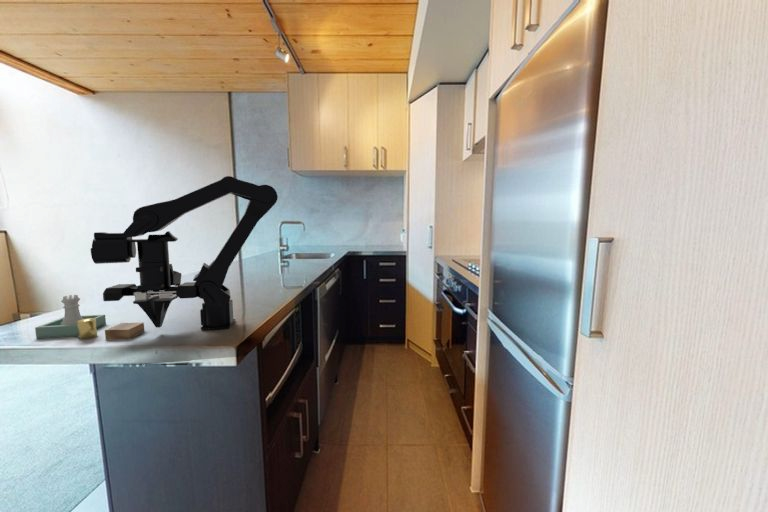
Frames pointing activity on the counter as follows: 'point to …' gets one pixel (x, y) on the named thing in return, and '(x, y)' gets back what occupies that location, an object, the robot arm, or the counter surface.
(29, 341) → the counter surface
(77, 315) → the rook chess piece
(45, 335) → the tray
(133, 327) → the flat brown wooden block
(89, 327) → the gold metallic block
